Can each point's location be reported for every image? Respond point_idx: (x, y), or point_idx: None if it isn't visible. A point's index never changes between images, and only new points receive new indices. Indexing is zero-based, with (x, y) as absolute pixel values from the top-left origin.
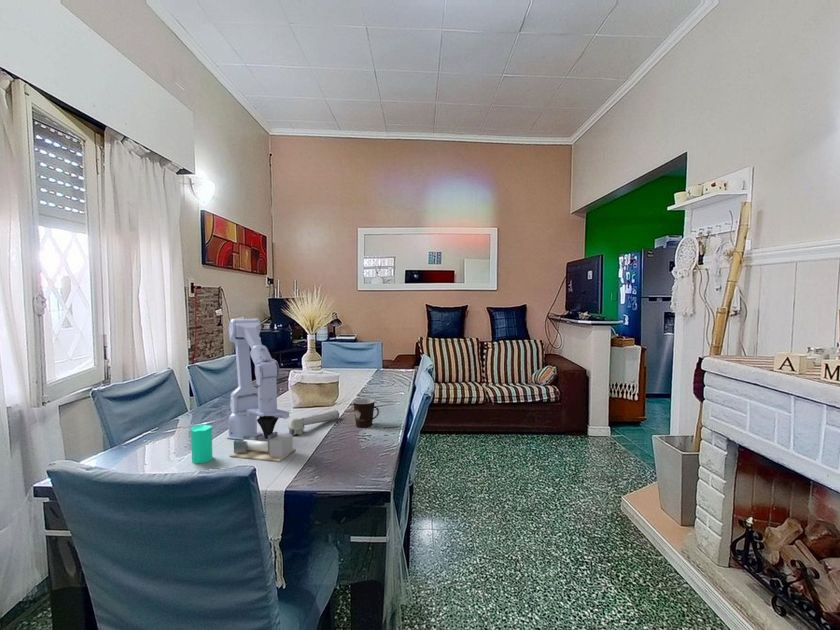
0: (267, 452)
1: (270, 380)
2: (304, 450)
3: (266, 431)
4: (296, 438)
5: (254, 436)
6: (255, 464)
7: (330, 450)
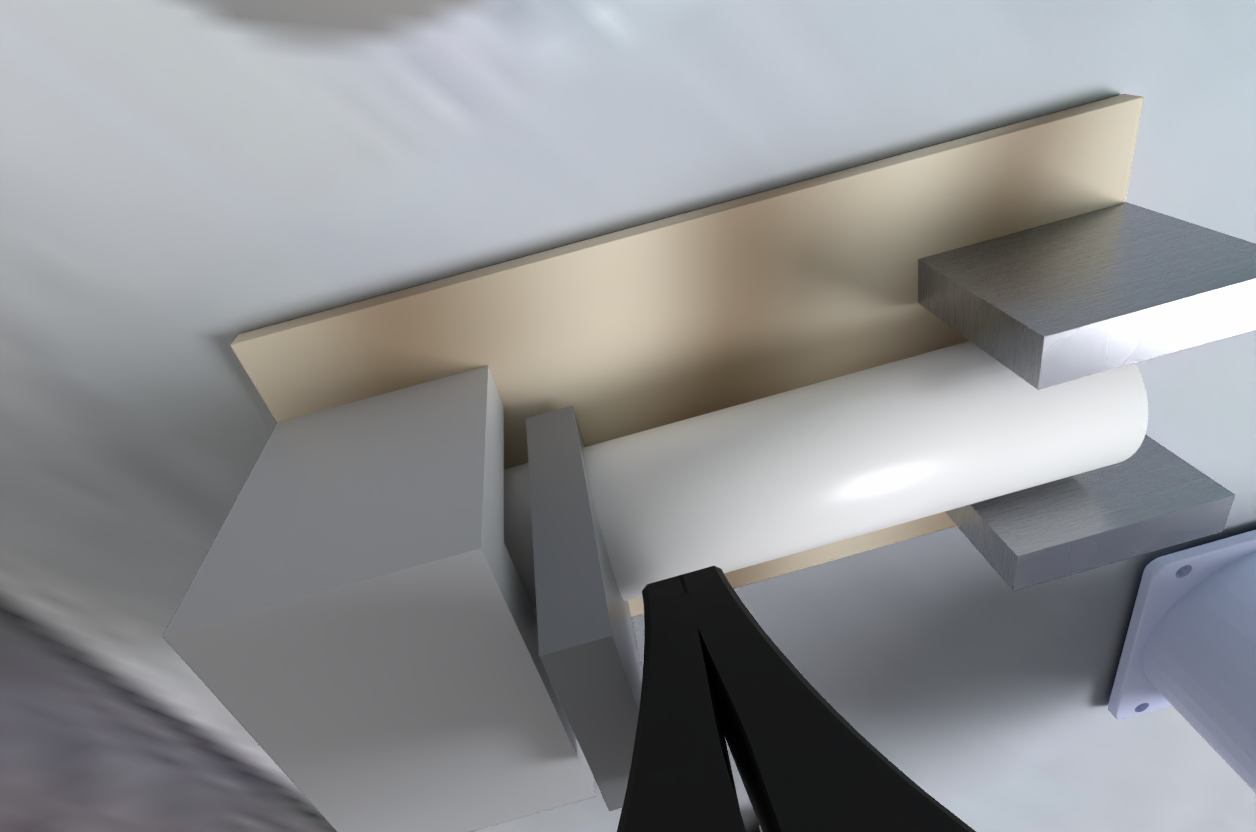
0: None
1: None
2: None
3: (690, 716)
4: None
5: (1046, 572)
6: (485, 70)
7: (79, 824)
